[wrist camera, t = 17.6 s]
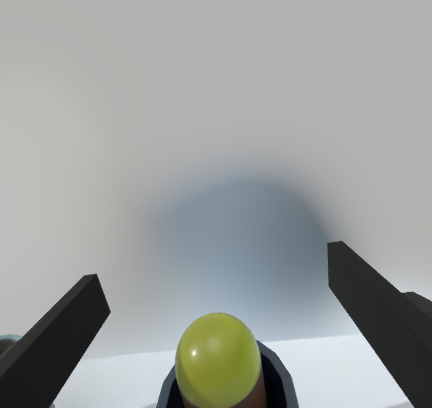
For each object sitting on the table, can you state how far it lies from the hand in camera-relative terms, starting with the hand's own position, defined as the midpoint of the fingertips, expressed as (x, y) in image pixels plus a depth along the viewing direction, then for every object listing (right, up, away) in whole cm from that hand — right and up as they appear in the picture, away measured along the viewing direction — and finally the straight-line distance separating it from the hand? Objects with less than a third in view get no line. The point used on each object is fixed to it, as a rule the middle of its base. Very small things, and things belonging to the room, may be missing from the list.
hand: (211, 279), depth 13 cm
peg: (+3, -17, +3) cm, 18 cm away
